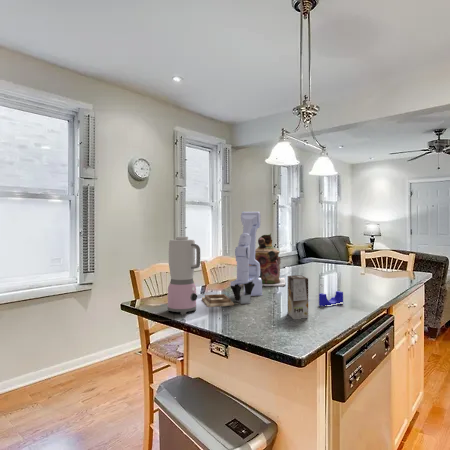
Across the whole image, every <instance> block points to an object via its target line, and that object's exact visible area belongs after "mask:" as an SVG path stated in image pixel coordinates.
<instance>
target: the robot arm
mask: <svg viewBox="0 0 450 450" xmlns="http://www.w3.org/2000/svg"><path fill="white" fill-rule="evenodd" d="M261 218H262V216H261V212H260V211H242V212H241V213H240V222H241V224H242V227H243V228H242V229H243V230H242V233H241V234H240V235H239V239H238V243H237V246H236V247H235V249H234V254H235V262H236V279H234V280H232V281H230V288H231V291H232V293H233V296H234V301H235V300H237V301H239V300H240V292H241V290H242V287H243V292H245V293H247V294H250V295H251V297H253V296H254V297H257V296H263V295H264V294H263V286H262V280H261V278H258V277H259V276H260V263H259V262H258V261H257V260H255V250H256V249H257V248H256V247H257V245H256V244H257V242H256V241H257V232H258V229H260V228H261V222H262V221H261V220H262V219H261ZM255 265H256V266H255ZM240 285H243V286H240ZM237 301H236V302H237Z"/></svg>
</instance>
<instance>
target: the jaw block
mask: <svg viewBox="0 0 450 450" xmlns="http://www.w3.org/2000/svg"><path fill="white" fill-rule="evenodd" d="M251 297H252V296H251V295H250V294H247V293H245V292H244V291H243V292H241V291H240V300H239V301H237V300H235V299H234V301H235V302H237V303H238V304H240V305H246V304H251Z"/></svg>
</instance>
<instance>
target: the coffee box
mask: <svg viewBox="0 0 450 450" xmlns="http://www.w3.org/2000/svg"><path fill="white" fill-rule="evenodd" d="M287 315H288V316H289V317H291V319H292V320H302V319H301V318H308V319H309V278H308V277H305V276H303V274H302V275H301V274H300V275H298V274H297V275H296V274H295V275H287Z"/></svg>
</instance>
